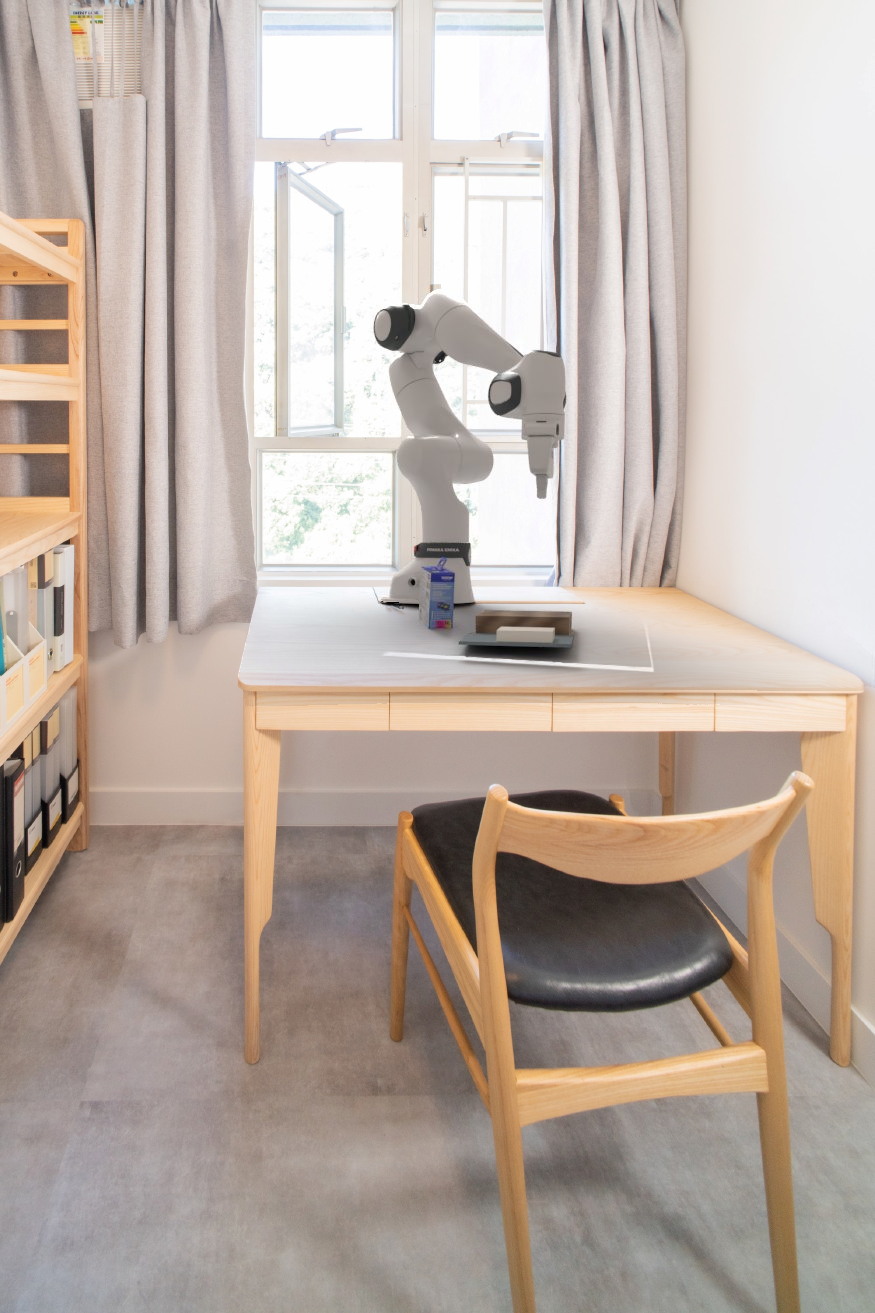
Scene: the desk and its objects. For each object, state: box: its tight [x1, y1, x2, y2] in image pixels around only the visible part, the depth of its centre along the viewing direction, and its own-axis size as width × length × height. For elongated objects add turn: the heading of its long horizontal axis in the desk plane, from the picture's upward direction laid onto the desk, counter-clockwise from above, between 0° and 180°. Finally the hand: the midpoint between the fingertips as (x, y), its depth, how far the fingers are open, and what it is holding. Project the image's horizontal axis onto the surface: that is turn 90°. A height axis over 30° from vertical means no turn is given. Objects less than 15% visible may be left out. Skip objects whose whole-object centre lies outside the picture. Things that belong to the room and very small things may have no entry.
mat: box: [457, 632, 575, 648], centre depth 175 cm, size 20×15×1 cm
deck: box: [474, 609, 573, 635], centre depth 189 cm, size 18×14×4 cm
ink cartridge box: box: [418, 557, 455, 630], centre depth 196 cm, size 10×6×14 cm, turn 14°
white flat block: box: [496, 627, 555, 643], centre depth 172 cm, size 10×7×2 cm
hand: (541, 498), depth 197 cm, fingers closed
